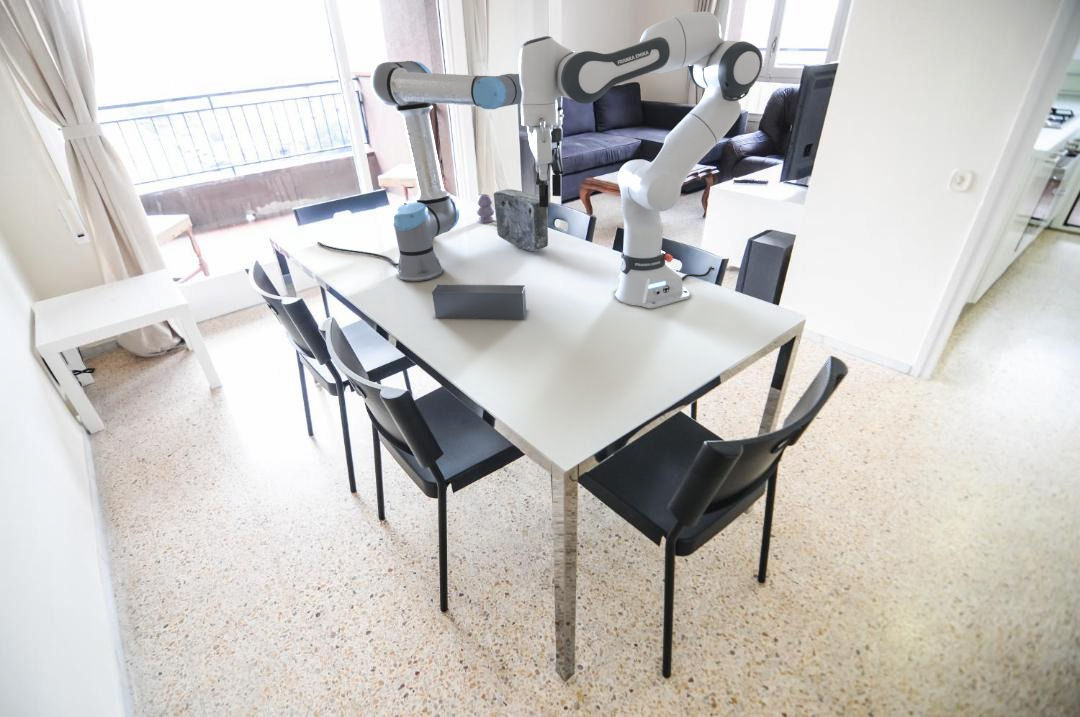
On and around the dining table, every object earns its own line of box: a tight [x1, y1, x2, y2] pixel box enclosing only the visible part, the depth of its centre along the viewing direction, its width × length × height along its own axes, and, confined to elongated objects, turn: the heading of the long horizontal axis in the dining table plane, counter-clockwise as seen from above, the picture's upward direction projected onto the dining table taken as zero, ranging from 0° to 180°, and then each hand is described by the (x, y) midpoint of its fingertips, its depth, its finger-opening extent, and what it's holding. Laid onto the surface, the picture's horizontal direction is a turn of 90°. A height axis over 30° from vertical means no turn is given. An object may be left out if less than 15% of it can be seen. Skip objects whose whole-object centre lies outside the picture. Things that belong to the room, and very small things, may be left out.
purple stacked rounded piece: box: [476, 193, 495, 224], centre depth 226 cm, size 8×8×12 cm
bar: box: [431, 283, 527, 321], centre depth 145 cm, size 26×6×8 cm, turn 84°
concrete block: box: [493, 188, 549, 252], centre depth 191 cm, size 27×9×20 cm, turn 36°
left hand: (550, 201), depth 155 cm, fingers open, 13 cm apart
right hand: (541, 175), depth 128 cm, fingers open, 8 cm apart
